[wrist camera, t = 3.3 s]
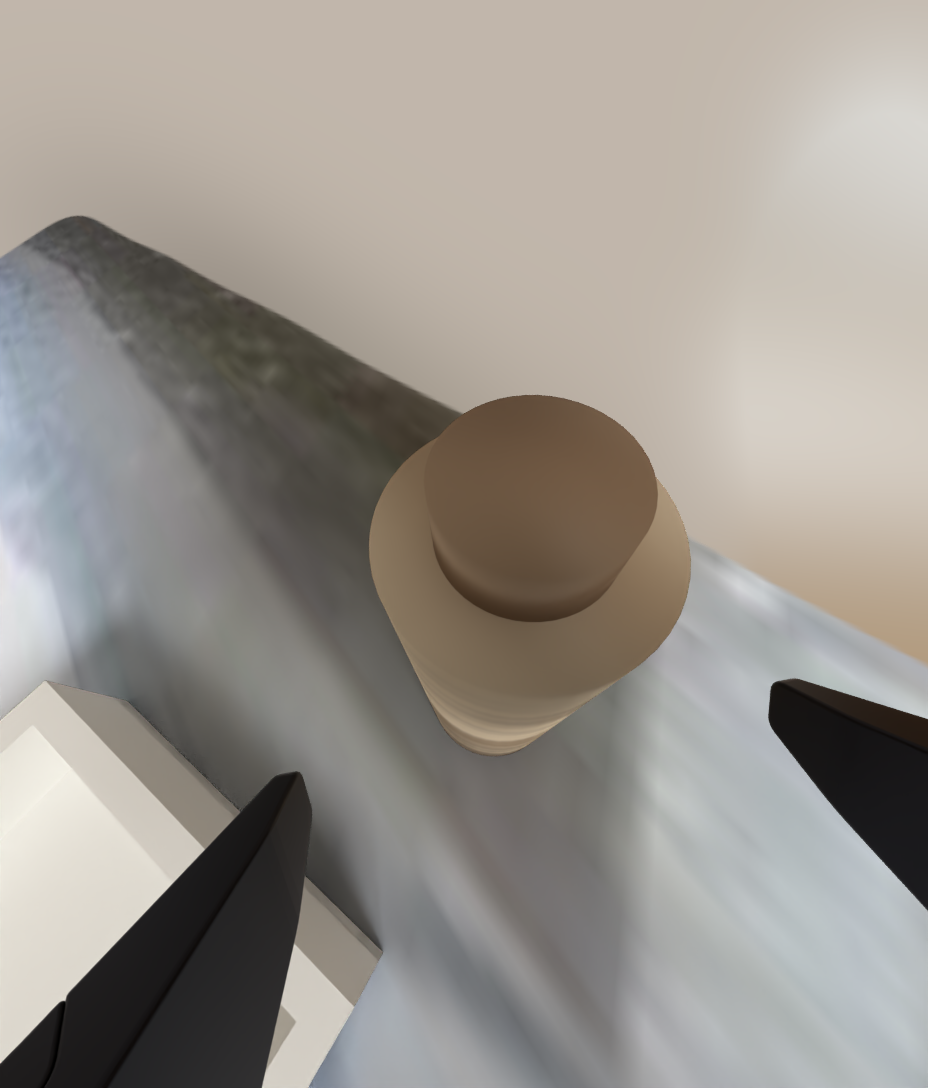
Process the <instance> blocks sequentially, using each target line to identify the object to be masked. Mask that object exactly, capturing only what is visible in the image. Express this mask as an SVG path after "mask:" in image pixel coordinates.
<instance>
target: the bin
mask: <svg viewBox="0 0 928 1088" xmlns="http://www.w3.org/2000/svg"><path fill="white" fill-rule="evenodd" d="M239 813H240V811H239V810H238V809H237V808H236V807H235V806H234V805H233V804H232V803H231V802H230V801H228V800H227V799H226V798H225V797H224V796H223V795H222V794H221V793H220V792H219V791H218V790H217V789H216V788H215V787H214V786H213V785H212V784H211V783H210V782H209V781H208V780H207V779H206V778H205V777H204V776H203V775H202V774H201V773H200V772H199V771H198V770H197V769H196V768H195V767H194V766H193V765H192V764H191V763H190V762H189V761H188V760H187V759H186V758H185V757H184V756H183V755H182V754H181V753H180V752H179V751H178V750H177V749H176V748H175V747H174V746H173V745H171V744H170V743H169V742H168V741H167V740H166V739H165V738H164V737H163V736H162V735H161V734H160V733H159V732H158V731H157V730H156V729H155V728H154V727H153V726H152V725H151V724H150V723H149V722H148V721H147V720H146V719H145V718H144V717H143V716H142V715H141V714H140V713H139V712H138V711H137V710H136V709H135V708H134V707H133V706H132V705H131V704H130V703H129V702H128V701H126V700H122V699H118V698H114V697H110V696H106V695H102V694H98V693H94V692H90V691H85V690H81V689H77V688H73V687H69V686H65V685H61V684H57V683H53V682H49V681H44V682H43V683H42V684H41V685H39V686H38V687H37V688H36V689H35V690H34V691H33V692H32V693H30V694H29V695H28V696H27V697H26V698H25V699H24V700H23V701H22V702H20V703H19V704H18V705H17V706H16V707H15V708H14V709H13V710H11V711H10V712H9V713H8V714H7V715H6V716H5V717H4V718H2V719H1V720H0V1063H1V1062H2V1061H3V1060H4V1059H5V1058H6V1057H7V1056H8V1055H9V1054H10V1053H11V1052H12V1051H13V1050H14V1049H15V1048H16V1047H17V1046H18V1045H19V1044H20V1043H21V1042H22V1040H23V1039H24V1038H25V1037H26V1036H27V1035H28V1034H29V1033H30V1032H31V1031H32V1030H33V1029H34V1028H35V1027H36V1026H37V1025H38V1024H39V1023H40V1022H41V1021H42V1020H43V1019H44V1017H45V1016H46V1015H47V1014H48V1013H49V1012H50V1011H51V1010H52V1009H53V1008H54V1007H55V1006H56V1005H57V1004H58V1003H59V1002H60V1001H65V1000H66V996H67V994H68V993H69V991H70V990H71V989H72V988H73V987H74V986H75V985H76V984H77V983H78V982H79V981H80V980H81V979H82V978H83V977H84V976H85V975H86V974H87V973H88V972H89V971H90V969H91V968H92V967H93V966H94V965H95V964H96V963H97V962H98V961H99V960H100V959H101V958H102V957H103V956H104V955H105V954H106V953H107V952H108V951H109V950H110V948H111V947H112V946H113V945H114V944H115V943H116V942H117V941H118V940H119V939H120V938H121V937H122V936H123V935H124V934H125V933H126V932H127V931H128V930H129V929H130V927H131V926H132V925H133V924H134V923H135V922H136V921H137V920H138V919H139V918H140V917H141V916H142V915H143V914H144V913H145V912H146V911H147V910H148V909H149V908H150V906H151V905H152V904H153V903H154V902H155V901H156V900H157V899H158V898H159V897H160V896H161V895H162V894H163V893H164V892H165V891H166V890H167V889H168V888H169V887H170V885H171V884H172V883H173V882H174V881H175V880H176V879H177V878H178V877H179V876H180V875H181V874H182V873H183V872H184V871H185V870H186V869H187V868H188V867H189V866H190V864H191V863H192V862H193V861H194V860H195V859H196V858H197V857H198V856H199V855H200V854H201V853H202V852H203V851H204V850H205V849H206V848H207V847H208V846H209V845H210V844H211V842H212V841H213V840H214V839H215V838H216V837H217V836H218V835H219V834H220V833H221V832H222V831H223V830H224V829H225V828H226V827H227V826H228V825H229V824H230V823H231V821H232V820H233V819H234V818H235V817H236V816H237V815H238V814H239ZM382 954H383V952H382V951H381V950H380V949H379V948H378V947H377V946H376V945H375V944H374V943H373V942H372V941H371V940H370V939H369V938H368V937H367V936H366V935H365V934H364V933H363V932H362V931H361V930H360V929H359V928H358V927H357V926H356V925H355V924H354V923H353V922H352V921H351V920H350V919H349V918H348V917H347V916H346V915H345V914H344V913H342V912H341V911H340V910H339V909H338V908H337V907H336V906H335V905H334V904H333V903H332V902H331V901H330V900H329V899H328V898H327V897H326V896H325V895H324V894H323V893H322V892H321V891H320V890H319V889H318V888H317V887H316V886H315V885H314V884H313V883H312V882H311V881H310V880H309V879H308V878H307V877H306V876H305V879H304V887H303V895H302V903H301V910H300V916H299V922H298V927H297V932H296V937H295V942H294V947H293V951H292V955H291V960H290V964H289V969H288V973H287V978H286V982H285V987H284V991H283V996H282V1000H281V1005H280V1009H279V1014H278V1018H277V1023H276V1027H275V1031H274V1036H273V1040H272V1045H271V1049H270V1054H269V1058H268V1063H267V1067H266V1072H265V1076H264V1081H263V1085H262V1088H308V1087H309V1085H310V1083H311V1081H312V1080H313V1078H314V1076H315V1074H316V1073H317V1071H318V1069H319V1067H320V1066H321V1064H322V1062H323V1061H324V1059H325V1057H326V1055H327V1054H328V1052H329V1050H330V1048H331V1047H332V1045H333V1043H334V1041H335V1040H336V1038H337V1036H338V1035H339V1033H340V1031H341V1029H342V1028H343V1026H344V1024H345V1022H346V1021H347V1019H348V1017H349V1015H350V1014H351V1012H352V1010H353V1009H354V1007H355V1005H356V1003H357V1001H358V999H359V997H360V995H361V994H362V992H363V990H364V988H365V986H366V984H367V982H368V980H369V978H370V976H371V975H372V973H373V971H374V969H375V967H376V965H377V963H378V961H379V959H380V958H381V956H382Z"/></svg>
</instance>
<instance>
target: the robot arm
mask: <svg viewBox="0 0 928 1088" xmlns="http://www.w3.org/2000/svg"><path fill="white" fill-rule="evenodd" d="M768 718H769V723H770V725H771V727H772V729H773V731H774V732H775V734H776V735H777V736H778V738H779V739H780V740H781V741H782V743H783V744H784V745H785V746H786V748H787V749H788V750H789V752H790V753H791V754H792V755H793V757H794V758H795V759H796V761H797V762H798V763H799V764H800V766H801V767H802V768H803V769H804V771H805V772H806V773H807V775H808V776H809V777H810V778H811V780H812V781H813V782H814V783H815V785H816V786H817V787H818V789H819V790H820V791H821V792H822V794H823V795H824V796H825V797H826V799H827V800H828V801H829V802H830V803H831V805H832V806H833V807H834V808H835V809H836V811H837V812H838V813H839V814H840V815H841V816H842V817H843V819H844V820H845V821H846V822H847V823H848V824H849V825H850V826H851V827H852V829H853V830H854V831H855V832H856V833H857V834H858V835H859V836H860V837H861V838H862V839H863V841H864V842H865V843H866V844H867V845H868V846H869V847H870V848H871V849H872V850H873V851H874V853H875V854H876V855H877V856H878V857H879V858H880V859H881V860H882V861H883V862H884V863H885V865H886V866H887V867H888V868H889V869H890V870H891V871H892V872H893V873H894V874H895V875H896V877H897V878H898V879H899V880H900V881H901V882H902V883H903V884H904V885H905V886H906V887H907V889H908V890H909V891H910V892H911V893H912V894H913V895H914V896H915V897H916V898H917V899H918V901H919V902H920V903H921V904H922V905H923V906H924V907H925V908H926V909H927V910H928V719H926V718H922V717H919V716H916V715H913V714H910V713H906V712H903V711H900V710H897V709H894V708H890V707H887V706H884V705H881V704H877V703H874V702H871V701H868V700H865V699H861V698H858V697H855V696H852V695H848V694H845V693H842V692H839V691H836V690H832V689H829V688H826V687H823V686H820V685H816V684H813V683H810V682H807V681H803V680H800V679H787V680H781V681H777V682H775V683H773V685H772V686H771V691H770V702H769V714H768ZM311 824H312V808H311V804H310V800H309V797H308V793H307V790H306V786H305V783H304V780H303V777H302V775H301V773H300V772H297V771H295V772H289V773H284V774H279V775H276V776H275V777H274V778H273V779H271V781H270V782H269V783H268V784H267V785H266V786H265V787H264V788H263V789H262V790H261V791H260V792H259V793H258V794H257V795H256V796H255V797H254V798H253V799H252V800H251V802H250V803H249V804H248V805H247V806H246V807H245V808H244V809H243V810H242V811H241V812H240V813H239V814H238V815H237V816H236V817H235V818H234V819H233V820H232V821H231V823H230V824H229V825H228V826H227V827H226V828H225V829H224V830H223V831H222V832H221V833H220V834H219V835H218V836H217V837H216V838H215V839H214V840H213V841H212V842H211V844H210V845H209V846H208V847H207V848H206V849H205V850H204V851H203V852H202V853H201V854H200V855H199V856H198V857H197V858H196V859H195V860H194V861H193V862H192V863H191V864H190V866H189V867H188V868H187V869H186V870H185V871H184V872H183V873H182V874H181V875H180V876H179V877H178V878H177V879H176V880H175V881H174V882H173V883H172V884H171V885H170V887H169V888H168V889H167V890H166V891H165V892H164V893H163V894H162V895H161V896H160V897H159V898H158V899H157V900H156V901H155V902H154V903H153V904H152V905H151V906H150V908H149V909H148V910H147V911H146V912H145V913H144V914H143V915H142V916H141V917H140V918H139V919H138V920H137V921H136V922H135V923H134V924H133V925H132V926H131V927H130V929H129V930H128V931H127V932H126V933H125V934H124V935H123V936H122V937H121V938H120V939H119V940H118V941H117V942H116V943H115V944H114V945H113V946H112V947H111V948H110V950H109V951H108V952H107V953H106V954H105V955H104V956H103V957H102V958H101V959H100V960H99V961H98V962H97V963H96V964H95V965H94V966H93V967H92V968H91V969H90V971H89V972H88V973H87V974H86V975H85V976H84V977H83V978H82V979H81V980H80V981H79V982H78V983H77V984H76V985H75V986H74V987H73V988H72V989H71V990H70V991H69V993H68V994H67V996H66V1000H65V1001H60V1002H59V1003H58V1004H57V1005H56V1006H55V1007H54V1008H53V1009H52V1010H51V1011H50V1012H49V1013H48V1014H47V1015H46V1016H45V1017H44V1019H43V1020H42V1021H41V1022H40V1023H39V1024H38V1025H37V1026H36V1027H35V1028H34V1029H33V1030H32V1031H31V1032H30V1033H29V1034H28V1035H27V1036H26V1037H25V1038H24V1039H23V1040H22V1042H21V1043H20V1044H19V1045H18V1046H17V1047H16V1048H15V1049H14V1050H13V1051H12V1052H11V1053H10V1054H9V1055H8V1056H7V1057H6V1058H5V1059H4V1060H3V1061H2V1062H1V1063H0V1088H262V1085H263V1081H264V1076H265V1072H266V1067H267V1063H268V1058H269V1054H270V1049H271V1045H272V1040H273V1036H274V1031H275V1027H276V1023H277V1018H278V1014H279V1009H280V1005H281V1000H282V996H283V991H284V987H285V982H286V978H287V973H288V969H289V964H290V960H291V955H292V951H293V947H294V942H295V937H296V932H297V927H298V922H299V916H300V910H301V903H302V895H303V887H304V879H305V871H306V864H307V856H308V848H309V840H310V832H311Z"/></svg>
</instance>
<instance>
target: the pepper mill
mask: <svg viewBox="0 0 928 1088" xmlns="http://www.w3.org/2000/svg"><path fill="white" fill-rule="evenodd" d="M369 560H370V566H371V572H372V577H373V580H374V583H375V586H376V590H377V593H378V596H379V598H380V600H381V602H382V604H383V606H384V608H385V610H386V612H387V614H388V616H389V618H390V620H391V622H392V625H393V627H394V629H395V631H396V633H397V635H398V637H399V639H400V641H401V643H402V645H403V647H404V649H405V651H406V653H407V655H408V657H409V659H410V662H411V664H412V666H413V668H414V670H415V672H416V674H417V676H418V678H419V680H420V682H421V684H422V686H423V688H424V690H425V692H426V694H427V697H428V699H429V701H430V703H431V705H432V707H433V709H434V711H435V713H436V715H437V717H438V719H439V721H440V723H441V725H442V727H443V728H444V730H445V731H446V733H447V734H448V735H449V736H450V737H451V738H452V739H453V740H454V741H455V742H456V743H457V744H459V745H460V746H462V747H463V748H465V749H467V750H469V751H471V752H473V753H477V754H480V755H485V756H503V755H508V754H511V753H514V752H516V751H519V750H521V749H522V748H524V747H526V746H527V745H529V744H530V743H531V742H533V741H534V740H536V739H537V738H538V737H540V736H541V735H543V734H544V733H545V732H547V731H548V730H550V729H551V728H552V727H554V726H555V725H556V724H558V723H559V722H561V721H562V720H563V719H565V718H566V717H568V716H569V715H570V714H572V713H573V712H575V711H576V710H577V709H579V708H580V707H582V706H583V705H584V704H586V703H587V702H589V701H590V700H591V699H593V698H594V697H595V696H597V695H598V694H600V693H601V692H602V691H604V690H605V689H607V688H608V687H609V686H611V685H612V684H614V683H615V682H616V681H618V680H619V679H621V678H622V677H623V676H625V675H626V674H628V673H629V672H630V671H632V670H633V669H635V668H636V667H637V666H639V665H640V664H641V663H642V662H644V661H645V660H646V659H647V658H648V657H649V656H650V655H651V654H652V653H654V652H655V651H656V650H657V649H658V648H659V646H660V645H661V644H662V643H663V641H664V640H665V639H666V638H667V636H668V635H669V634H670V632H671V631H672V629H673V627H674V625H675V624H676V622H677V620H678V618H679V616H680V614H681V611H682V609H683V606H684V603H685V600H686V598H687V593H688V588H689V582H690V570H691V557H690V549H689V542H688V538H687V534H686V531H685V527H684V524H683V521H682V519H681V517H680V514H679V512H678V510H677V507H676V505H675V504H674V502H673V500H672V499H671V497H670V495H669V494H668V492H667V491H666V489H665V488H664V487H663V485H662V484H661V483H660V482H659V480H658V479H657V478H656V477H655V473H654V470H653V467H652V465H651V463H650V460H649V458H648V456H647V455H646V453H645V452H644V450H643V448H642V447H641V446H640V444H639V443H638V442H637V441H636V440H635V438H634V437H633V436H632V435H631V434H630V433H629V432H628V431H627V430H626V429H625V428H624V427H622V426H621V425H620V424H618V423H617V422H616V421H615V420H613V419H611V418H610V417H608V416H607V415H605V414H604V413H602V412H600V411H598V410H595V409H594V408H591V407H589V406H586V405H584V404H581V403H579V402H575V401H571V400H568V399H564V398H558V397H552V396H542V395H522V396H512V397H507V398H502V399H497V400H494V401H490V402H488V403H485V404H482V405H480V406H477V407H475V408H473V409H471V410H470V411H468V412H466V413H464V414H463V415H461V416H460V417H459V418H457V419H456V420H454V421H453V422H452V423H451V424H450V425H449V426H448V427H447V428H446V429H445V430H444V431H443V432H442V434H441V435H440V436H439V437H437V438H436V439H434V440H432V441H430V442H429V443H427V444H426V445H424V446H423V447H422V448H420V449H419V450H417V451H416V452H415V453H414V454H413V455H412V456H411V457H409V458H408V459H407V460H406V461H405V462H404V463H403V464H402V465H401V466H400V468H399V469H398V470H397V471H396V472H395V474H394V475H393V476H392V478H391V479H390V481H389V482H388V484H387V485H386V487H385V489H384V490H383V492H382V494H381V497H380V499H379V501H378V503H377V505H376V509H375V512H374V515H373V519H372V522H371V529H370V537H369Z"/></svg>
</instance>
